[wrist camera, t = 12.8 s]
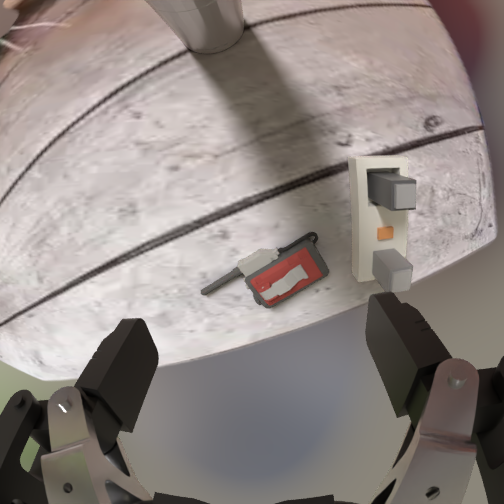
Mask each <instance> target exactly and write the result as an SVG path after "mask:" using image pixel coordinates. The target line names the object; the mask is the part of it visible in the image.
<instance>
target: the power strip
mask: <svg viewBox="0 0 504 504" xmlns="http://www.w3.org/2000/svg"><path fill="white" fill-rule="evenodd" d="M348 168H349V181H350V198H351V224H352V273H353V275H354V277H355V278H356V280H357V281H358V283H359V282H365V281H371V280H377V281H378V282H379V283H380V285H381V286H382V288H383V289H384V290H385V292H389V291H392V292H393V293H396V292H401V291H406V290H410V285H411V278H412V271H413V265H412V264H411V263H410V262H409V261H408V260H407V259H405V258H406V247H407V231H408V210H400V211H390V210H388V209H387V208H385V207H383V206H382V205H380V204H378V203H377V202H375V201H373V200H371V199H370V198H368V188H367V172H392V173H395V174H398V175H402V176H405V177H408V159H407V157H402V156H396V155H393V156H358V157H348Z"/></svg>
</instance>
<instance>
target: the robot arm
mask: <svg viewBox="0 0 504 504" xmlns="http://www.w3.org/2000/svg"><path fill="white" fill-rule="evenodd" d="M145 1H146V2H147V3H148V4H149V5H150V6H151V7H152V8H153V9H154V10H155V12H156V13H157V14H158V15H159V16H160V17H161V18H162V19H163V20H164V22H165V23H166V24H167V25H168V26H169V27H170V28H171V29H172V31H173V32H174V33H175V34H176V35H177V37H178V38H179V39H180V40H181V41H182V42H183V44H184V45H185V46H186V47H188V48H189V49H190V50H192V51H195V52H198V53H205V54H210V53H217V52H220V51H223V50H225V49H228V48H229V47H231V46H232V45H234V44H235V43H236V42H237V41H238V40H239V39H240V37H241V36H242V33H243V31H244V18H243V10H242V3H241V0H145ZM366 341H367V345H368V348H369V350H370V353H371V355H372V357H373V359H374V362H375V364H376V366H377V369H378V371H379V373H380V376H381V378H382V381H383V383H384V386H385V388H386V391H387V393H388V396H389V398H390V401H391V403H392V406H393V408H394V411H395V413H396V416H397V418H398V417H401V416H405V415H409V417H410V420H411V422H410V424H409V426H408V428H407V431H406V433H405V436H404V439H403V441H402V443H401V445H400V448H399V450H398V452H397V454H396V457H395V459H394V461H393V463H392V465H391V467H390V469H389V471H388V473H387V475H386V476H385V478H384V479H383V481H382V482H381V484H380V485H379V487H378V489H377V490H376V492H375V494H374V495H373V497H372V499H371V500H370V502H369V504H461V503H462V500H463V497H464V495H465V492H466V489H467V486H468V483H469V480H470V476H471V473H472V470H473V466H474V462H475V458H476V461H477V464H478V467H479V470H480V473H481V476H482V480H483V484H484V487H485V491H486V495H487V499H488V504H504V356H503V357H502V359H501V361H500V363H499V364H498V366H497V367H495V368H488V369H479V370H476V368H475V367H474V366H473V365H472V364H471V363H469V362H468V361H466V360H464V359H459V358H452V356H451V355H450V353H449V352H448V351H447V349H446V348H445V346H444V345H443V343H442V342H441V341H440V339H439V338H438V336H437V335H436V334H435V332H434V331H433V330H432V329H431V327H430V325H429V324H428V323H427V321H425V319H424V317H423V316H422V315H421V313H420V312H419V311H418V310H417V309H416V308H414V307H412V306H410V305H409V304H408V303H402V304H401V302H400V301H399V300H398V298H397V297H396V296H395V294H394V293H393V292H392V291H389V292H384V293H378V294H373V295H371V296H370V298H369V304H368V314H367V323H366ZM158 360H159V357H158V351H157V348H156V346H155V344H154V341H153V339H152V337H151V335H150V332H149V330H148V328H147V325H146V323H145V321H144V320H143V319H141V318H132V319H122V320H121V321H120V323H119V324H118V326H117V327H116V329H115V330H114V332H112V333H111V334H110V335H108V336H107V337H106V338H105V339H104V340H103V341H102V342H101V344H100V345H99V347H98V348H97V351H96V352H95V353H94V355H93V356H92V359H90V361H89V363H88V364H87V366H86V367H85V369H84V371H83V372H82V374H81V375H80V377H79V379H78V380H77V382H76V384H75V386H74V387H72V386H67V387H63V388H60V389H59V390H57V391H56V392H54V393H53V394H52V396H51V397H50V399H49V400H41V401H37V400H36V398H35V397H34V396H33V395H32V393H31V392H30V391H28V390H20V391H18V392H16V393H15V394H14V395H13V396H12V397H11V398H10V400H9V401H8V403H7V405H6V406H5V408H4V410H3V412H2V413H1V415H0V504H209V503H206V502H203V501H200V500H197V499H194V498H186V497H179V496H173V495H168V494H162V493H157V492H155V494H154V498H153V499H152V497H151V496H150V494H149V493H148V492H147V490H146V489H145V488H144V487H143V486H142V485H141V484H140V482H139V481H138V479H137V477H136V475H135V473H134V471H133V469H132V466H131V464H130V462H129V459H128V457H127V454H126V452H125V449H124V447H123V444H122V442H121V440H120V438H119V437H118V434H119V431H125V432H130V433H132V432H133V429H134V426H135V423H136V421H137V418H138V415H139V412H140V410H141V407H142V404H143V401H144V399H145V396H146V394H147V391H148V388H149V386H150V383H151V381H152V378H153V376H154V373H155V371H156V368H157V365H158ZM29 436H30V437H31V438H33V439H34V440H35V441H36V442H37V443H38V444H39V445H40V447H39V450H38V452H37V455H36V457H35V459H34V462H33V464H32V467H31V469H30V471H29V472H27V471H25V470H24V469H23V468H22V467H21V464H20V456H21V454H22V452H23V449H24V447H25V445H26V443H27V441H28V438H29ZM276 504H357V503H353V502H344V501H334V496H333V495H326V496H321V497H314V498H307V499H297V500H287V501H283V502H280V503H276Z"/></svg>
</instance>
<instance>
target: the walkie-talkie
mask: <svg viewBox="0 0 504 504" xmlns="http://www.w3.org/2000/svg"><path fill="white" fill-rule="evenodd" d="M310 236H315V238H314V240H312V241H311V239H310V238H309V237H310ZM317 240H318V236H317V234H316V233H315V232H311V233H308V234H306V235H305V236H303V237H301V238H300V239H298V240H296V241H295V242H293V243H292V244H290V245H288V246H286V247H284V248H279V249H277V248H275V249H259V250H257V251H256V252H254V253H252V254H251V255H249V256H248V257H246V258H244V259H241V260H239V261H238V265H237V266H238V267H236V268H234V269H233V271H231V272H230V273H228V274H226V275H225V276H223V277H222V278H220V279H218V280H217V281H215V282H214V283H212V284H210V285H209V286H207V287H205V288H204V289H202V290H201V294H202V295H206V294H208V293H209V292H211V291H213V290H214V289H216V288H218V287H219V286H221V285H223V284H225V283H226V282H228V281H230V280H231V279H233V278H235V277H236V276H237V277H238V276H240V275H241V274H244V276H245V277H243V280H244V282H246V285H245V286H246V288H247V289H251V291H252V292H253V293H254V294H253V297H254V300H255V301H256V303H257V304H258V305H261V304H263V306H264V307H265V308H271V307H273V306H275V305H277V304H279V303H281V302H282V301H284V300H286V299H288V298H290V297H291V296H293V295H294V294H297V293H298V292H300V291H301V290H303V289H305V288H306V287H309V286H310V285H312V284H313V283H315V282H317V281H318V280H321V279H322V278H324V277H325V276H327V275H328V273H329V269H328V267H327V265H326V264H325V262H324V260H323V259H322V257H321V255H320V254H319V252H318V250H317V249H316V247H315V245H314V243H316V241H317Z"/></svg>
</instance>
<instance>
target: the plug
mask: <svg viewBox="0 0 504 504" xmlns="http://www.w3.org/2000/svg"><path fill="white" fill-rule="evenodd" d="M367 188H368V198H370V199H371V200H373V201H375V202H377V203H378V204H380V205H382V206H383V207H385V208H387V209H388V210H390V211H400V210H414V209H416V180H414V179H411V178H408V177H405V176H402V175H398V174H395V173H392V172H367Z"/></svg>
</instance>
